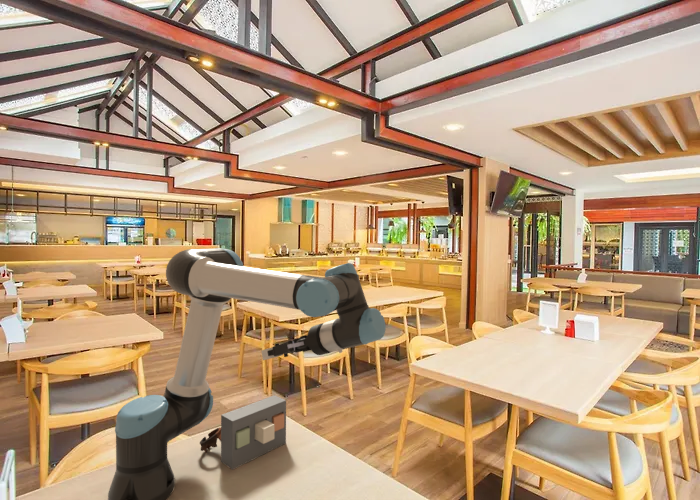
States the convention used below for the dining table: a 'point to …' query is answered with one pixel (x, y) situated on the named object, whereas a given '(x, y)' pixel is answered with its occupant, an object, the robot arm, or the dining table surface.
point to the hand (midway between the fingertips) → (264, 355)
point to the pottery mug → (211, 439)
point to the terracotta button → (278, 421)
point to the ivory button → (264, 431)
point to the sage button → (242, 437)
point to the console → (248, 419)
